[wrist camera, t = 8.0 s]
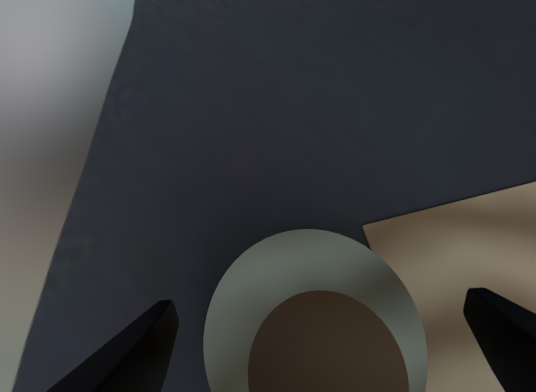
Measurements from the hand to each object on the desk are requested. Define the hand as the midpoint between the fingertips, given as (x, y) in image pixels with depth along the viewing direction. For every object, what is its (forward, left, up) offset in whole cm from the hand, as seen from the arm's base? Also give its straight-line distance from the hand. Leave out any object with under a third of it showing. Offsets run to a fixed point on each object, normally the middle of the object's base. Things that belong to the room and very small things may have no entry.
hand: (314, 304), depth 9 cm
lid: (-1, 0, -9) cm, 9 cm away
